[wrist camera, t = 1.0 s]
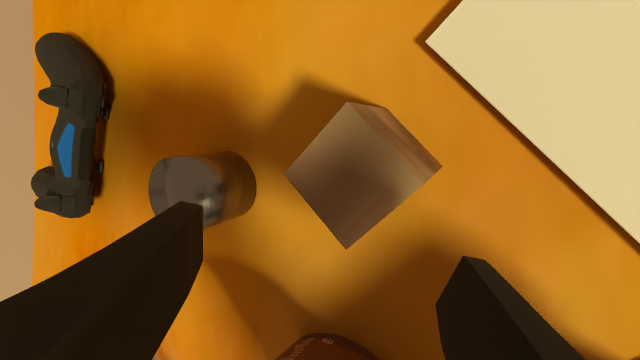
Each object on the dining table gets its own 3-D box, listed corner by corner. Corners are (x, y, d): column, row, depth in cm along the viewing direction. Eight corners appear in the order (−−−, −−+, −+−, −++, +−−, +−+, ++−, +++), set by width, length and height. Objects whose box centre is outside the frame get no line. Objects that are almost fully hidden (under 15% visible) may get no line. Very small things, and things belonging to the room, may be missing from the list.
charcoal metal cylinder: (268, 188, 23) (217, 202, 19) (232, 228, 25) (179, 250, 21) (227, 137, 24) (170, 140, 20) (196, 181, 26) (138, 192, 22)
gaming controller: (99, 193, 37) (95, 243, 30) (34, 190, 34) (10, 245, 27) (115, 45, 32) (115, 59, 25) (39, 24, 29) (12, 33, 21)
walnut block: (443, 166, 18) (424, 183, 12) (384, 216, 20) (346, 249, 14) (386, 108, 18) (347, 101, 13) (335, 161, 20) (283, 174, 15)
